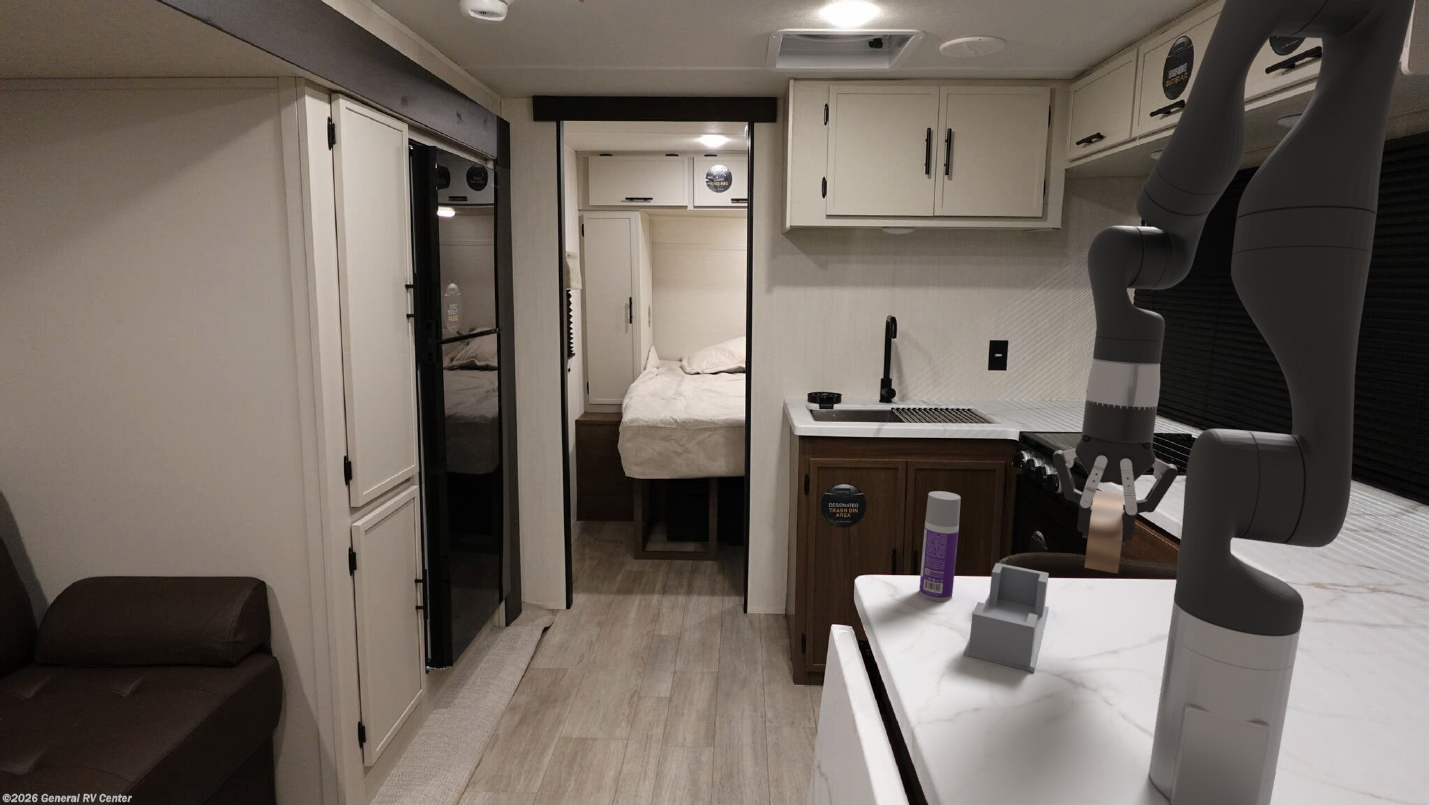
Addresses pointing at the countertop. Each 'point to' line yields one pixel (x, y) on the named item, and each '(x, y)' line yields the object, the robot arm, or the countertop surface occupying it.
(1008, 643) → the endcap rail
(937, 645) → the countertop surface
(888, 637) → the countertop surface
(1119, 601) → the countertop surface
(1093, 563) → the slat
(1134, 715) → the countertop surface
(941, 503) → the container
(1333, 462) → the robot arm
